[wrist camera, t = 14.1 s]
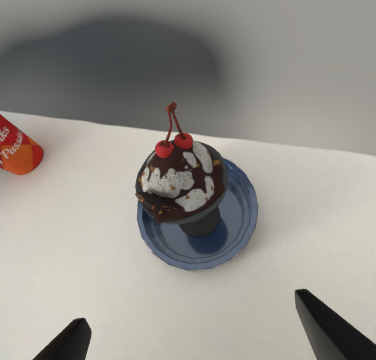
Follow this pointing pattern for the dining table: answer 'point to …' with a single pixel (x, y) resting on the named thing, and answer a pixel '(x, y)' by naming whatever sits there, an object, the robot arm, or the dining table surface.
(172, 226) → the bowl
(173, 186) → the sundae
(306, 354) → the dining table surface
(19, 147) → the paper cup
